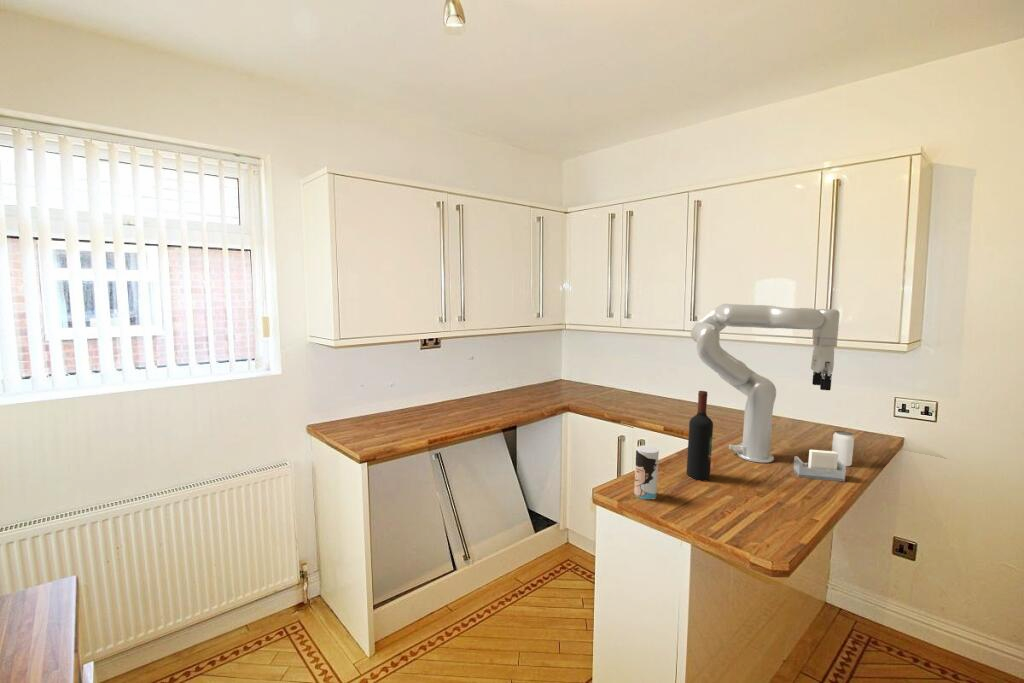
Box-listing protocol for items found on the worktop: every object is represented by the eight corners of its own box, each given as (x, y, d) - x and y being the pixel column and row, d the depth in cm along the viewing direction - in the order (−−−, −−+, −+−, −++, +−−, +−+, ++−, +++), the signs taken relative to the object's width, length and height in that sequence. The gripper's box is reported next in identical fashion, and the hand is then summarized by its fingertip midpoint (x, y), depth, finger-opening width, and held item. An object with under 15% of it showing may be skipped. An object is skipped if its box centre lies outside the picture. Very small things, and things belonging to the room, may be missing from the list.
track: (798, 477, 166) (799, 462, 165) (793, 470, 172) (794, 456, 171) (844, 481, 163) (846, 466, 162) (837, 475, 168) (838, 460, 168)
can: (831, 459, 184) (834, 429, 183) (852, 463, 180) (855, 432, 179) (829, 464, 179) (832, 433, 178) (850, 468, 175) (853, 436, 174)
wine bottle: (683, 472, 169) (688, 389, 166) (705, 472, 169) (710, 389, 166) (690, 480, 162) (695, 393, 158) (713, 481, 162) (718, 394, 158)
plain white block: (810, 474, 166) (812, 451, 166) (807, 471, 169) (809, 449, 168) (836, 476, 165) (838, 454, 164) (833, 473, 167) (835, 451, 166)
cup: (640, 489, 154) (642, 444, 153) (659, 495, 150) (662, 448, 148) (630, 495, 149) (632, 449, 148) (650, 502, 145) (652, 454, 143)
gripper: (806, 339, 187) (803, 382, 189) (820, 344, 170) (816, 391, 172) (829, 340, 184) (825, 383, 186) (844, 345, 168) (840, 392, 170)
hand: (821, 387), depth 179 cm, fingers open, 9 cm apart
